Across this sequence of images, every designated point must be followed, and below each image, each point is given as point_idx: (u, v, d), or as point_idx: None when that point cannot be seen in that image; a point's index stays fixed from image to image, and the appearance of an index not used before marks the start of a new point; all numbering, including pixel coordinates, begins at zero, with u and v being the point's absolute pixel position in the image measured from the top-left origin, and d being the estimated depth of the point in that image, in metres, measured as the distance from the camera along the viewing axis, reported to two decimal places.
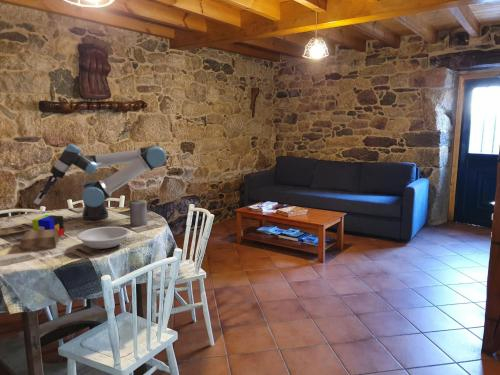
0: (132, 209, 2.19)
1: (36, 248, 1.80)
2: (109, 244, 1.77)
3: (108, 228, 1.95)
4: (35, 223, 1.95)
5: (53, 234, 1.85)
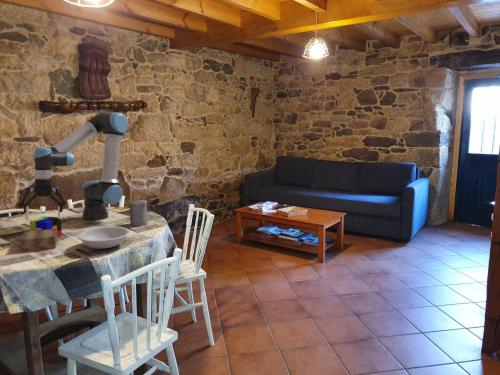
0: (132, 209, 2.19)
1: (36, 248, 1.79)
2: (109, 244, 1.77)
3: (108, 228, 1.95)
4: (33, 225, 1.94)
5: (53, 234, 1.85)
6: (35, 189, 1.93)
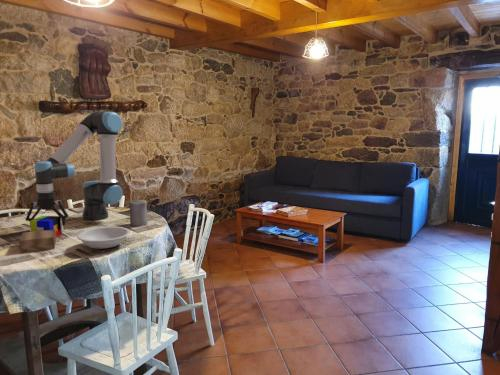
0: (132, 209, 2.19)
1: (35, 249, 1.78)
2: (109, 244, 1.77)
3: (108, 228, 1.95)
4: (34, 224, 1.93)
5: (52, 235, 1.84)
6: (38, 203, 1.96)
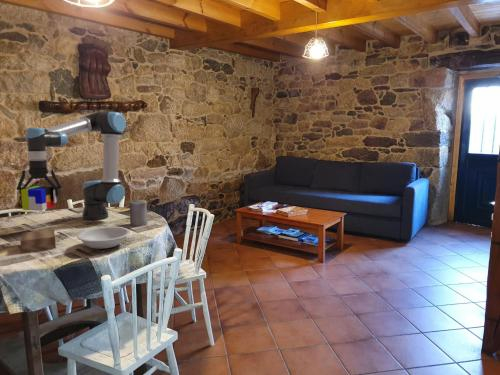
0: (132, 209, 2.19)
1: (36, 249, 1.79)
2: (109, 244, 1.77)
3: (108, 228, 1.95)
4: (25, 194, 1.83)
5: (52, 234, 1.84)
6: (30, 171, 1.86)
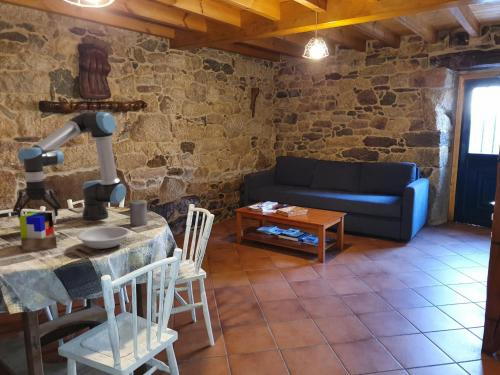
0: (132, 209, 2.19)
1: (37, 249, 1.79)
2: (109, 244, 1.77)
3: (108, 228, 1.95)
4: (23, 221, 1.78)
5: (52, 234, 1.85)
6: (27, 193, 1.80)
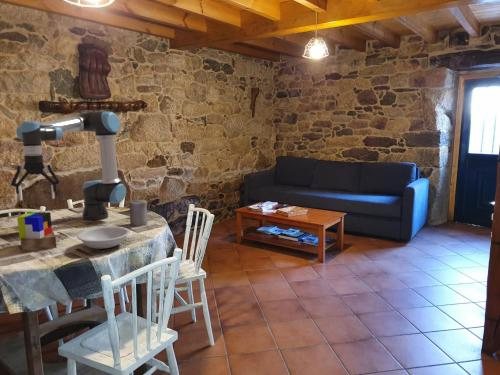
0: (132, 209, 2.19)
1: (37, 249, 1.79)
2: (109, 244, 1.77)
3: (108, 228, 1.95)
4: (21, 222, 1.78)
5: (52, 234, 1.85)
6: (25, 167, 1.78)
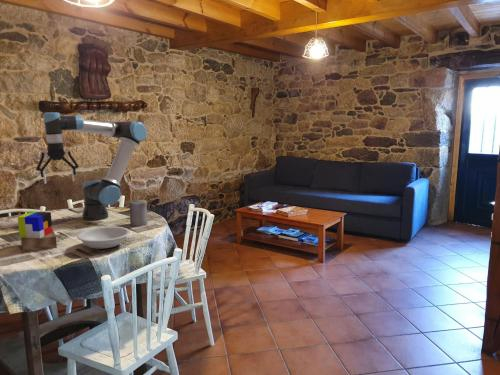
0: (132, 209, 2.19)
1: (37, 249, 1.79)
2: (109, 244, 1.77)
3: (108, 228, 1.95)
4: (21, 221, 1.78)
5: (52, 234, 1.85)
6: (48, 153, 2.00)
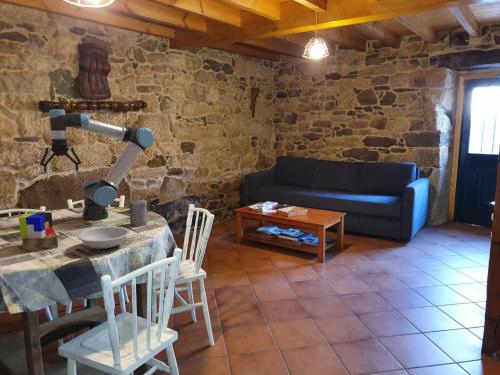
0: (132, 209, 2.19)
1: (38, 249, 1.79)
2: (109, 244, 1.77)
3: (108, 228, 1.95)
4: (22, 221, 1.78)
5: (54, 234, 1.85)
6: (52, 149, 2.05)
